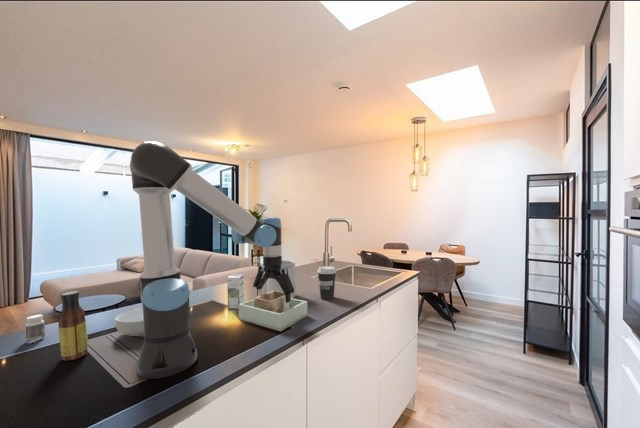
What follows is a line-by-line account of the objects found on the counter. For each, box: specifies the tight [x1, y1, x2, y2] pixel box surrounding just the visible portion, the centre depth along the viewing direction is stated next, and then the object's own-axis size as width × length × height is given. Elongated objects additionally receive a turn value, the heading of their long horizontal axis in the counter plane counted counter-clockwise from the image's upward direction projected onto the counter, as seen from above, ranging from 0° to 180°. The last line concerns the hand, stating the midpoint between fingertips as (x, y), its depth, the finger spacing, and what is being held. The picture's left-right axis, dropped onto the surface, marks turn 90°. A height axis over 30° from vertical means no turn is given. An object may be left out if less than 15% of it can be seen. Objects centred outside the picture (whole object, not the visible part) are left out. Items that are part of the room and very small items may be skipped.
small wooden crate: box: [253, 290, 291, 313], centre depth 114 cm, size 12×9×8 cm
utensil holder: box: [266, 259, 296, 299], centre depth 141 cm, size 15×15×18 cm
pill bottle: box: [24, 313, 46, 343], centre depth 97 cm, size 5×5×8 cm
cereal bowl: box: [114, 307, 144, 337], centre depth 102 cm, size 17×17×7 cm
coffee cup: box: [316, 265, 337, 301], centre depth 138 cm, size 10×10×15 cm
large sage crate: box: [238, 298, 309, 332], centre depth 114 cm, size 17×22×6 cm
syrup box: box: [226, 274, 245, 310], centre depth 127 cm, size 6×6×14 cm
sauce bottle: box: [57, 290, 89, 362], centre depth 85 cm, size 6×6×20 cm
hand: (273, 307), depth 114 cm, fingers open, 13 cm apart
